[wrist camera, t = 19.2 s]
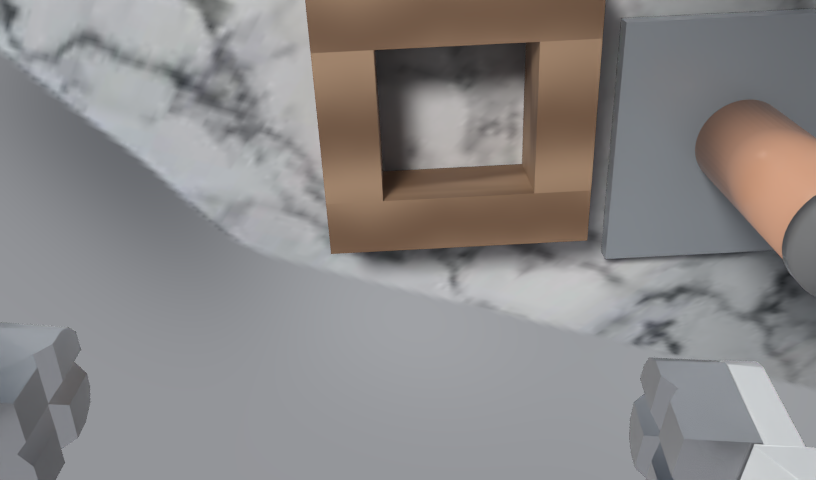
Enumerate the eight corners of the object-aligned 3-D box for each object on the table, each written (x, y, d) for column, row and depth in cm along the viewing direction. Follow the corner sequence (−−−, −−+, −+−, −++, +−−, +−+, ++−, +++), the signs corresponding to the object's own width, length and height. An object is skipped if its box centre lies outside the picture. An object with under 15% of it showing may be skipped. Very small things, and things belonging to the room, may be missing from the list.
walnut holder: (310, -27, 39) (303, -12, 35) (587, -41, 39) (607, -27, 36) (335, 220, 46) (331, 253, 42) (571, 208, 46) (587, 240, 42)
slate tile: (621, 18, 41) (626, 22, 40) (886, 4, 41) (897, 8, 40) (600, 250, 47) (605, 259, 46) (828, 239, 47) (837, 246, 46)
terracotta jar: (698, 98, 42) (807, 192, 31) (798, 93, 42) (940, 186, 31) (685, 189, 44) (781, 304, 34) (779, 184, 44) (903, 298, 34)
